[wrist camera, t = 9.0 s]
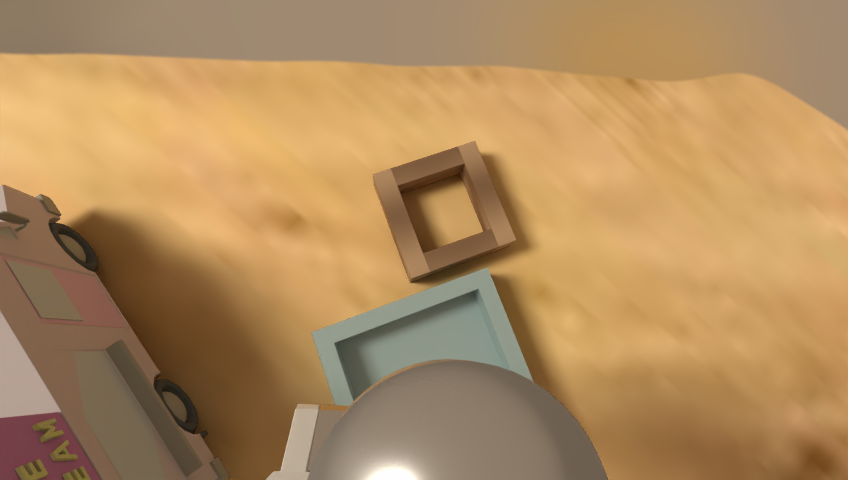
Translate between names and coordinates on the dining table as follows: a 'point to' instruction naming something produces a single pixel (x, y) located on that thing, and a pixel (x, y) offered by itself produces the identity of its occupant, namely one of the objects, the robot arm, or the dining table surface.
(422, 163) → the collar
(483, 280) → the tray
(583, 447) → the pin
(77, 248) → the toy vehicle
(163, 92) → the dining table surface
